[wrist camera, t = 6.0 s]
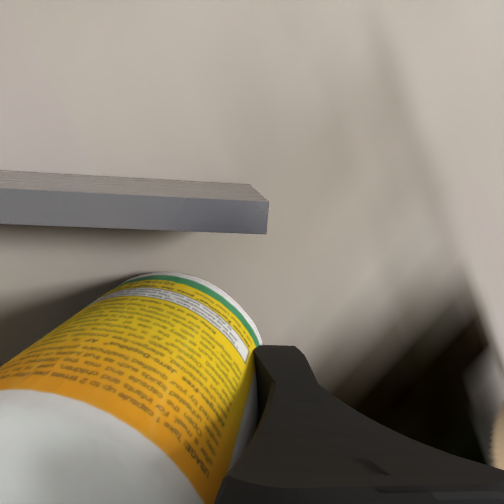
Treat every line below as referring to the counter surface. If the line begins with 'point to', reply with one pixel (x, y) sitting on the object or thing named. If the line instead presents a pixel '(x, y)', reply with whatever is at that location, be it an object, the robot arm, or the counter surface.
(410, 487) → the robot arm
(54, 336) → the supplement bottle
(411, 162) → the counter surface
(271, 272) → the counter surface
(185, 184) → the bar
